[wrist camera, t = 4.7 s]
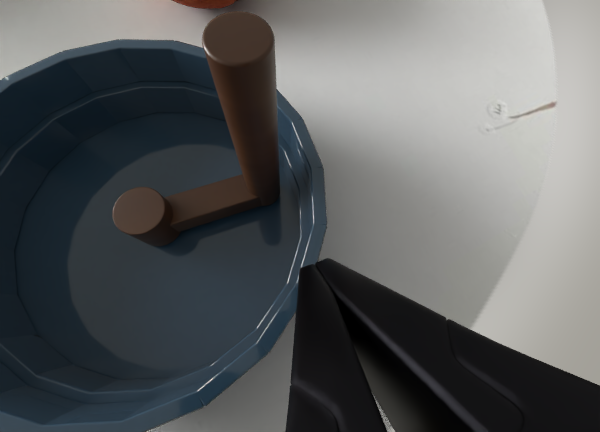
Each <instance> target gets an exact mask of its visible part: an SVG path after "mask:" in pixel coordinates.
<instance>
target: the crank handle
mask: <svg viewBox="0 0 600 432" xmlns="http://www.w3.org/2000/svg"><path fill="white" fill-rule="evenodd" d="M202 44H203V48H204V51H205V55H206V58H207V61H208V64H209V67H210V71H211V74H212V77H213V80H214V84H215V87H216V90H217V93H218V96H219V100H220V103H221V106H222V109H223V112H224V116H225V119H226V122H227V125H228V128H229V132H230V135H231V138H232V141H233V145H234V148H235V151H236V154H237V157H238V161H239V164H240V167H241V170H242V173H243V174H241V175H238V176H235V177H231V178H228V179H224V180H221V181H218V182H214V183H211V184H208V185H204V186H201V187H197V188H194V189H191V190H187V191H184V192H181V193H177V194H174V195H170V196H167V197H163V196H162V195H161V194H160V193H159V192H158V191H156V190H154V189H152V188H149V187H136V188H133V189H130V190H128V191H126V192H125V193H123V194H122V195H121V196H120V197H119V198H118V199H117V201H116V203H115V205H114V207H113V211H112V217H113V221H114V223H115V225H116V227H117V228H118V229H119V230H120V231H122V232H124V233H126V234H128V235H130V236H132V237H134V238H136V239H138V240H140V241H143V242H145V243H147V244H149V245H152V246H164V245H167V244H169V243H171V242H173V241H174V240H175V239H176V238H177V237H178V236H179V234H180V233H181V231H184V230H187V229H190V228H193V227H196V226H199V225H202V224H206V223H209V222H212V221H215V220H218V219H221V218H225V217H228V216H231V215H234V214H237V213H240V212H243V211H247V210H250V209H253V208H256V207H259V206H267V205H271V204H273V203H274V202H275V201H276V200H277V199H278V198H279V195H280V172H279V145H278V118H277V92H276V65H275V39H274V34H273V31H272V29H271V27H270V26H269V24H268V23H267V22H266V21H265V20H264V19H262V18H261V17H259V16H257V15H255V14H252V13H249V12H243V11H234V12H228V13H224V14H221V15H219V16H217V17H215V18H214V19H213V20H211V21H210V22H209V23H208V24H207V26H206V27H205V30H204V32H203V37H202Z"/></svg>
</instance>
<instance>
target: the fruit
mask: <svg viewBox="0 0 600 432" xmlns="http://www.w3.org/2000/svg"><path fill="white" fill-rule="evenodd" d="M173 1H175V2H177V3H180V4H183V5H186V6H190V7H195V8H209V9H211V8H224V7H226V6H229V5H231V4H233V3H234V2H235V1H237V0H173Z"/></svg>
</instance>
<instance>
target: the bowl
mask: <svg viewBox="0 0 600 432" xmlns="http://www.w3.org/2000/svg"><path fill="white" fill-rule="evenodd" d="M276 92H277V118H278V145H279V172H280V195H279V198H278V199H277V200H276V201H275V202H274V203H273V204H271V205H267V206H259V207H256V208H253V209H250V210H247V211H243V212H240V213H237V214H234V215H231V216H228V217H225V218H221V219H218V220H215V221H212V222H209V223H206V224H202V225H199V226H196V227H193V228H190V229H187V230H184V231H181V233H180V234H179V236H178V237H177V238H176V239H175V240H174V241H173V242H171V243H169V244H167V245H164V246H152V245H149V244H147V243H145V242H143V241H140V240H138V239H136V238H134V237H132V236H130V235H128V234H126V233H124V232H122V231H120V230H119V229H118V228H117V227H116V225H115V223H114V221H113V217H112V211H113V207H114V205H115V203H116V201H117V199H118V198H119V197H120V196H121V195H122V194H123V193H125V192H126V191H128V190H130V189H133V188H136V187H149V188H152V189H154V190H156V191H158V192H159V193H160V194H161V195H162V196H163V197H167V196H170V195H174V194H177V193H181V192H184V191H187V190H191V189H194V188H197V187H201V186H204V185H208V184H211V183H214V182H218V181H221V180H224V179H228V178H231V177H235V176H238V175H241V174H243V173H242V170H241V167H240V164H239V161H238V157H237V154H236V151H235V148H234V145H233V141H232V138H231V135H230V132H229V128H228V125H227V122H226V119H225V116H224V112H223V109H222V106H221V103H220V100H219V96H218V93H217V90H216V87H215V84H214V80H213V77H212V74H211V71H210V67H209V64H208V61H207V58H206V55H205V51H204V48H201V47H197V46H193V45H190V44H186V43H182V42H179V41H173V40H131V39H120V40H119V39H118V40H113V41H108V42H103V43H98V44H94V45H89V46H84V47H79V48H75V49H70V50H65V51H62V52H59V53H57V54H55V55H52V56H50V57H48V58H46V59H44V60H41V61H39V62H37V63H35V64H33V65H30V66H28V67H26V68H24V69H22V70H19V71H17V72H15V73H13V74H10V75H8V76H6V77H4V78H3V79H1V80H0V432H146V431H148V430H151V429H153V428H156V427H158V426H160V425H163V424H165V423H168V422H170V421H173V420H175V419H177V418H180V417H182V416H185V415H187V414H189V413H192V412H194V411H197V410H199V409H202V408H203V407H204V406H207V405H208V404H209V403H210V402H211V401H213V400H214V399H215V398H216V397H217V396H219V395H220V394H221V393H222V392H223V391H225V390H226V389H227V388H228V387H229V386H231V385H232V384H233V383H234V382H235V381H237V380H238V379H239V378H240V377H241V376H242V375H244V374H245V373H246V372H247V371H248V370H250V369H251V368H252V367H253V366H254V365H256V364H257V363H258V362H259V361H260V360H262V359H263V358H264V357H265V356H266V355H267V354H268V353H269V352H270V351H271V349H272V348H273V346H274V345H275V343H276V342H277V340H278V339H279V337H280V336H281V334H282V332H283V331H284V329H285V328H286V326H287V325H288V323H289V322H290V320H291V319H292V317H293V315H294V314H295V312H296V307H297V295H298V282H299V270H300V268H302V267H304V266H307V265H310V264H314V265H315V263H316V262H318V258H319V255H320V251H321V247H322V244H323V240H324V236H325V232H326V229H327V213H326V198H325V182H324V169H323V165H322V163H321V160H320V158H319V156H318V153H317V151H316V148H315V146H314V144H313V141H312V139H311V137H310V134H309V132H308V130H307V127H306V125H305V122H304V120H303V119H302V117H301V116H300V115H299V113H298V112H297V111H296V110H295V109H294V108H293V107H292V106H291V105H290V103H289V102H288V101H287V100H286V99H285V98H284V97H283V96H282V94H281V93H280V92H279V91H278V90H277V89H276Z"/></svg>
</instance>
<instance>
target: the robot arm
mask: <svg viewBox="0 0 600 432" xmlns="http://www.w3.org/2000/svg"><path fill="white" fill-rule="evenodd" d="M372 393H373V394H374V396H375V398H376V400H377V401H378V403H379V405H380V406H381V408H382V410H383V411H384V413H385V415H386V417H387V418H388V420H389V422H390V423H391V425H392V427H393V429H394V430H395V432H600V386H599V385H597V384H595V383H592V382H590V381H587V380H585V379H582V378H580V377H578V376H575V375H573V374H570V373H568V372H565V371H563V370H561V369H558V368H555V367H553V366H551V365H549V364H546V363H544V362H541V361H539V360H537V359H534V358H531V357H529V356H527V355H525V354H522V353H520V352H518V351H516V350H513V349H511V348H509V347H506V346H504V345H502V344H499V343H497V342H495V341H493V340H491V339H489V338H487V337H485V336H482V335H480V334H478V333H476V332H474V331H472V330H470V329H468V328H466V327H464V326H462V325H460V324H458V323H456V322H454V321H452V320H450V319H448V320H446V318H445V317H444V316H442V315H440V314H438V313H436V312H434V311H432V310H430V309H428V308H426V307H424V306H422V305H420V304H418V303H416V302H414V301H413V300H411V299H409V298H407V297H405V296H403V295H401V294H399V293H397V292H395V291H393V290H391V289H389V288H387V287H385V286H383V285H381V284H379V283H377V282H375V281H373V280H371V279H369V278H367V277H365V276H363V275H361V274H359V273H357V272H356V271H354V270H352V269H350V268H348V267H346V266H344V265H342V264H340V263H338V262H336V261H334V260H332V259H329V258H327V259H324V260H321V261H319V262H316V263H315V265H314V264H310V265H307V266H304V267H302V268H300V270H299V282H298V295H297V307H296V320H295V333H294V345H293V358H292V370H291V386H290V393H289V405H288V414H287V423H286V432H387V430H386V427H385V425H384V422H383V419H382V417H381V414H380V412H379V409H378V407H377V404H376V401H375V399H374V396H373V394H372Z"/></svg>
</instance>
